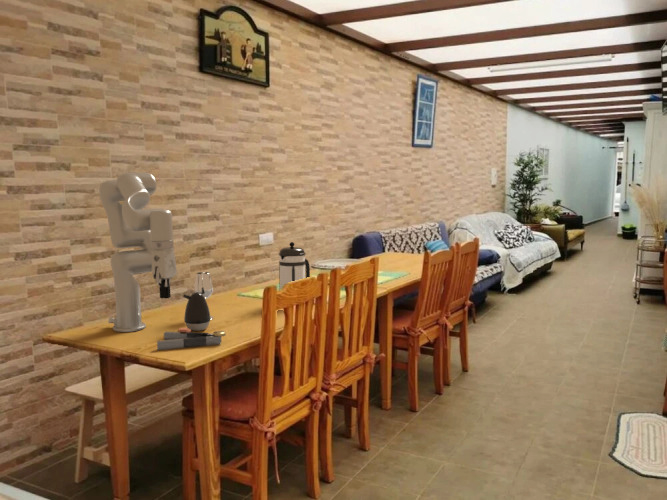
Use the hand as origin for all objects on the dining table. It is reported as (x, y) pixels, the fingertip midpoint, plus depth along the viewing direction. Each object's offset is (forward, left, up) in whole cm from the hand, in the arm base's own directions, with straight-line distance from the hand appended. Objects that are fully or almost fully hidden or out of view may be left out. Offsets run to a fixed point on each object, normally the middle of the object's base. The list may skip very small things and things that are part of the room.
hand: (165, 297), depth 200 cm
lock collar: (0, +15, -19) cm, 24 cm away
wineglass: (-5, +45, -19) cm, 50 cm away
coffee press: (+26, +80, -19) cm, 87 cm away
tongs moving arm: (+6, +5, -19) cm, 21 cm away
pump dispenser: (-1, +28, -19) cm, 34 cm away
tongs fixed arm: (+5, +11, -19) cm, 23 cm away
